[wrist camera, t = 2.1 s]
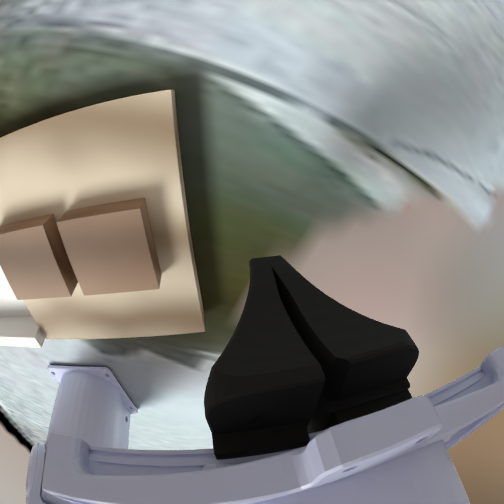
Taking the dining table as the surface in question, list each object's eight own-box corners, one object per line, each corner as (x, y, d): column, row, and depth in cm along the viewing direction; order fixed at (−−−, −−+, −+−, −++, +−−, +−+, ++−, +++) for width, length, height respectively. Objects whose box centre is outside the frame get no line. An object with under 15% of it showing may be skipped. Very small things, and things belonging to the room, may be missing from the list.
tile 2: (78, 282, 17) (71, 296, 15) (25, 286, 16) (17, 300, 15) (53, 213, 14) (42, 225, 13) (-1, 226, 13) (-12, 237, 12)
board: (204, 313, 22) (205, 331, 20) (53, 322, 20) (46, 339, 19) (174, 89, 14) (170, 89, 12) (-13, 144, 12) (-30, 152, 10)
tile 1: (161, 273, 17) (159, 289, 16) (90, 281, 17) (84, 295, 15) (145, 197, 15) (140, 208, 13) (66, 210, 14) (56, 222, 13)
